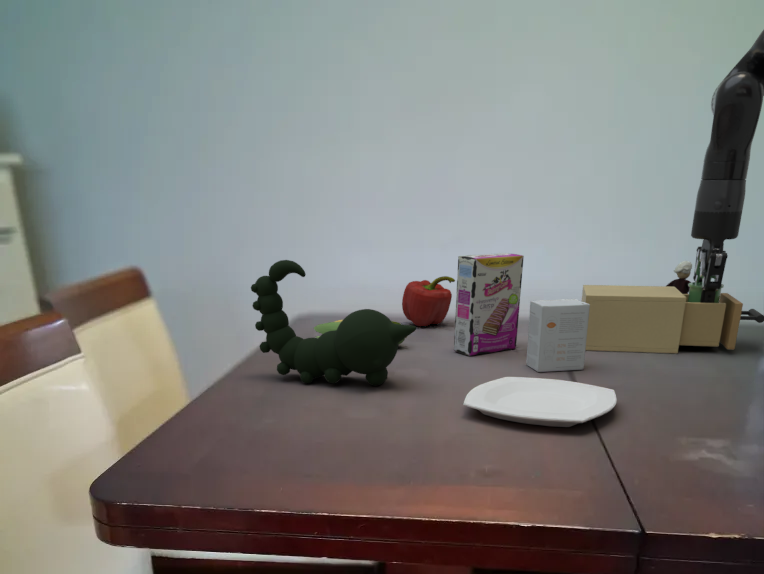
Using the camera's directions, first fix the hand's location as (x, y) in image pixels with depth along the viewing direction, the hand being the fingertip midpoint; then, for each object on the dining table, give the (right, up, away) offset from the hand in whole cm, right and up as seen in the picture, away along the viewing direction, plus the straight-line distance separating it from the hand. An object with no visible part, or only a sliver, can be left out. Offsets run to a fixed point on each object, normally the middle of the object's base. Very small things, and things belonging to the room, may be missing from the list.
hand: (702, 309), depth 133 cm
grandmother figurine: (+4, +3, +22) cm, 23 cm away
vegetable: (-48, +3, +24) cm, 54 cm away
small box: (-29, -13, -11) cm, 34 cm away
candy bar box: (-39, -7, +1) cm, 39 cm away
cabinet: (-12, -5, +5) cm, 14 cm away
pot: (0, -1, 0) cm, 1 cm away
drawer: (0, -5, +2) cm, 6 cm away
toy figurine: (-65, -16, -18) cm, 69 cm away
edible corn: (-62, -5, +7) cm, 62 cm away
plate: (-36, -23, -33) cm, 54 cm away
